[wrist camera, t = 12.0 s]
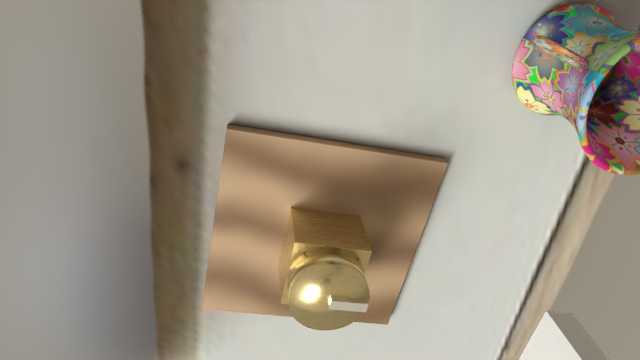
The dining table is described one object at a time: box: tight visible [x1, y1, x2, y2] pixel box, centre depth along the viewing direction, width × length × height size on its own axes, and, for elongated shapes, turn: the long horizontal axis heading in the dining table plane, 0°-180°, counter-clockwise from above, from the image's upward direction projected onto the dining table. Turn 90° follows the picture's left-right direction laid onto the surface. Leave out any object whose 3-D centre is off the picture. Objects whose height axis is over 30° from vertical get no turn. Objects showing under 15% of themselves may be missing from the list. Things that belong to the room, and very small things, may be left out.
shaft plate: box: [202, 124, 448, 324], centre depth 41 cm, size 18×18×5 cm
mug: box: [512, 3, 640, 175], centre depth 32 cm, size 12×9×11 cm
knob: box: [278, 207, 372, 330], centre depth 38 cm, size 6×6×8 cm
